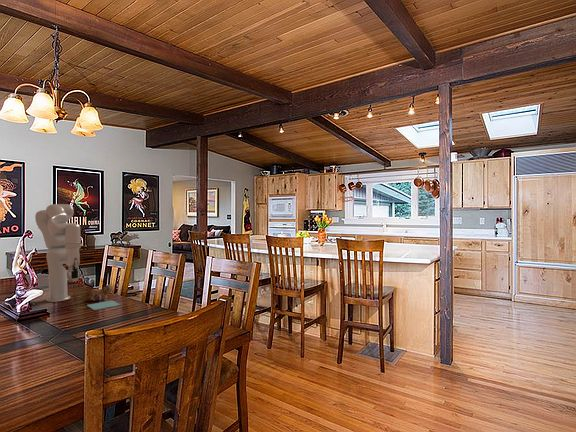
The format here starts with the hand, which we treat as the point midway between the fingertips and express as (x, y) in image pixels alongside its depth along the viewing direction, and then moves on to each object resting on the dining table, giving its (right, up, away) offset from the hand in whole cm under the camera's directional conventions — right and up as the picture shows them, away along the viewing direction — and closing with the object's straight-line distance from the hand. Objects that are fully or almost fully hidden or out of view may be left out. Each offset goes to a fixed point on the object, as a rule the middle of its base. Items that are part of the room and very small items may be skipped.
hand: (73, 277), depth 199 cm
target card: (+15, -17, +4) cm, 23 cm away
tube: (0, -2, 0) cm, 2 cm away
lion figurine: (+6, -17, +17) cm, 25 cm away
